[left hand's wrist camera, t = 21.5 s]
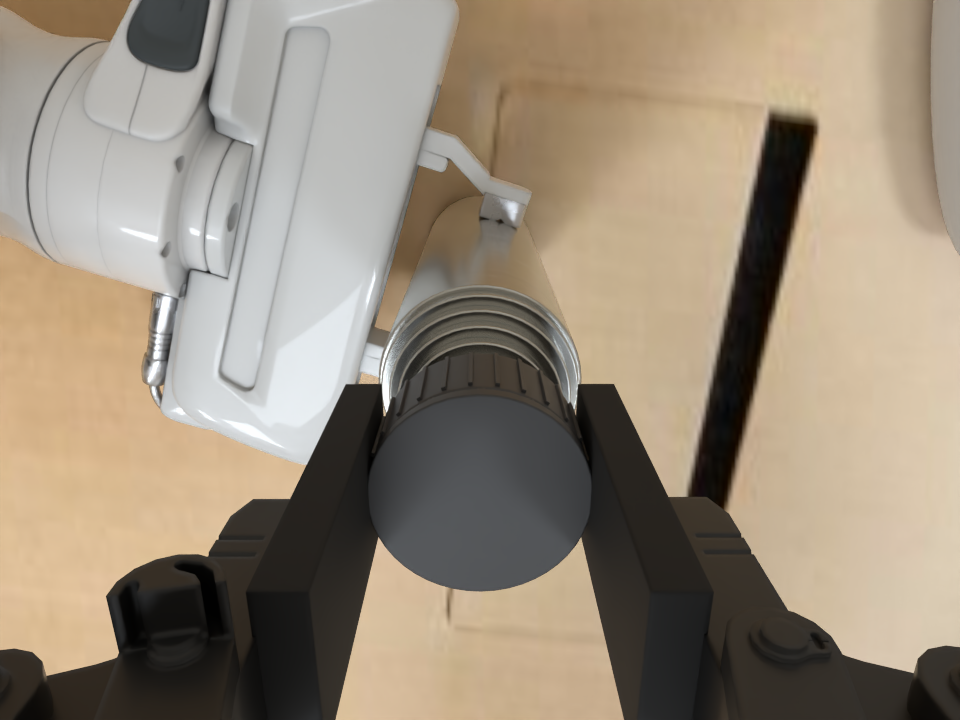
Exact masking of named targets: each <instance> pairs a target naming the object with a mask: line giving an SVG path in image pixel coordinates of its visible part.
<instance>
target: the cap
mask: <svg viewBox="0 0 960 720" xmlns="http://www.w3.org/2000/svg"><path fill="white" fill-rule="evenodd" d="M370 456H372V457H373V460H372V464H371V467H370V470H369V474H368V495H369V510H370V518H371V521H372V524H373V526H374V528H375V530H376V532H377V535H378V537H379V538H380V540H381V541H382V543H383V544H384V546H385V547H386V548H387V550H388V551H389V552H390V553H391V554H392V555H393V556H394V557H395V558H396V559H397V560H398V561H399V562H400V563H401V564H402V565H403V566H405V567H406V568H408V569H409V570H411V571H412V572H413V573H415V574H417V575H419V576H421V577H422V578H424V579H426V580H428V581H431V582H433V583H436V584H439V585H442V586H445V587H449V588H453V589H459V590H465V591H495V590H501V589H507V588H511V587H514V586H518V585H521V584H524V583H526V582H529V581H531V580H534V579H536V578H538V577H539V576H541V575H543V574H545V573H547V572H548V571H549V570H551V569H552V568H554V567H555V566H556V565H558V564H559V563H560V562H561V561H562V560H563V559H564V558H565V557H566V556H567V555H568V554H569V553H570V552H571V551H572V549H573V548H574V547H575V546H576V544H577V543H578V541H579V539H580V538H581V536H582V535H583V532H584V530H585V528H586V526H587V524H588V521H589V517H590V503H591V488H592V475H591V470H590V467H589V458H588V455H587V452H586V449H585V445H584V442H583V437H582V434H581V431H580V428H579V425H578V421H577V418H576V415H575V412H574V408H573V405H572V403H571V402H570V403H568V402H567V400H566V398H565V397H564V395H563V394H562V392H561V389H560V386H559V385H558V384H557V385H555V384H554V383H553V382H552V381H551V380H550V379H548V378H547V377H546V376H545V375H543V371H542V370H540V369H539V370H536V369H534V368H533V367H531V366H529V365H527V364H525V363H523V362H522V360H521V359H519V358H518V359H517V360H515V359H512V358H509V357H505V356H500V355H498V353H494V354H483V353H482V354H480V353H479V354H473V352H469V354H465V355H460V356H455V357H451V358H450V357H449V356H447V357H445V360H442V361H439V362H437V363H435V364H433V365H431V366H429V367H427V365H426V366H424V367H423V370H422V371H421V372H419V373H418V374H416V375H415V376H414V377H413V378H412V379H410V380H408V379H407V380H406V381H405V382H404V386H403V388H402V389H401V390H400V391H399V392H398V394H397V395H396V397H393V396H392V398H391V400H390V403H389V406H388V410H387V413H386V416H383V417H382V420H381V423H380V427H379V430H378V433H377V436H376V439H375V442H374V446H373V449H372V452H371V455H370Z"/></svg>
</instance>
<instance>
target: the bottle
mask: <svg viewBox="0 0 960 720" xmlns="http://www.w3.org/2000/svg"><path fill="white" fill-rule="evenodd" d="M482 197H483V196H471V197H467V198H463V199H461V200H458V201H456V202H454V203H453V204H451V205H450V206H448V207H447V208H446V209H445V210H444V211H443V212H442V213H441V214H440V215H439V216H438V218H437V219H436V221H435V222H434V224H433V226H432V229H431V231H430V234H429V236H428V239H427V241H426V244H425V246H424V249H423V251H422V254H421V257H420V259H419V262H418V264H417V267H416V269H415V272H414V274H413V277H412V279H411V282H410V284H409V287H408V289H407V292H406V294H405V297H404V299H403V302H402V304H401V307H400V309H399V312H398V314H397V317H396V319H395V322H394V324H393V327H392V329H391V332H390V334H389V337H388V339H387V342H386V344H385V347H384V350H383V352H382V356H381V361H380V366H379V384H382V399H383V407H384V410H385V413H387V410H388V406H389V403H390V400H391V398H392V396H393V397H396V395H397V394H398V392H399V391H400V390H401V389H402V388H403V386H404V382H405V381H406V380H407V379H408V380H410V379H412V378H413V377H414V376H415V375H416V374H418V373H419V372H421V371H422V370H423V367H424V366H426V365H427V367H429V366H431V365H433V364H435V363H437V362H439V361H442V360H445V357H447V356H449V357H450V358H451V357H455V356H460V355H465V354H469V352H473V354H479V353H480V354H482V353H483V354H494V353H498V355H500V356H505V357H509V358H512V359H515V360H517V359H518V358H519V359H521V360H522V362H523V363H525V364H527V365H529V366H531V367H533V368H534V369H536V370H539V369H540V370H542V371H543V375H545V376H546V377H547V378H548V379H550V380H551V381H552V382H553V383H554V384H555V385H557V384H558V385H559V386H560V389H561V392H562V394H563V395H564V397H565V398H566V400H567V402H568V403H570V402H571V403H572V405H573V408H574V412H575V409H576V407H577V391H578V384H581V366H580V361H579V357H578V353H577V350H576V347H575V345H574V342H573V339H572V337H571V334H570V332H569V329H568V327H567V324H566V322H565V319H564V317H563V314H562V312H561V309H560V307H559V304H558V302H557V299H556V297H555V294H554V292H553V289H552V287H551V284H550V282H549V279H548V277H547V274H546V272H545V269H544V267H543V264H542V262H541V259H540V257H539V254H538V252H537V249H536V247H535V244H534V242H533V239H532V237H531V234H530V232H529V229H528V227H527V225H526V223H525V221H524V219H523V221H522V224H521V227H520V228H516V227H512V226H509V225H507V224H505V223H504V222H503V221H502V220H501V219H499V220H496V221H495V220H490V219H487V218H484V217H481V216H479V207H480V204H481V200H482Z"/></svg>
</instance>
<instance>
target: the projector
mask: <svg viewBox="0 0 960 720" xmlns="http://www.w3.org/2000/svg"><path fill="white" fill-rule="evenodd" d="M931 119H932V139H933V152H934V165H935V173H936V181H937V189H938V195H939V200H940V205H941V211H942V215H943V218H944V222H945V225H946V228H947V231H948V234H949V236H950V239H951V241H952V243H953V245H954V247H955V249H956V251H957V252H958V254H959V255H960V0H933V11H932V34H931Z"/></svg>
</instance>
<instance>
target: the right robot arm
mask: <svg viewBox="0 0 960 720" xmlns="http://www.w3.org/2000/svg"><path fill="white" fill-rule="evenodd" d="M459 18H460V13H459V8H458V5H457V2H456V0H132V1H131V3H130V5H129V7H128V9H127V11H126V13H125V15H124V17H123V19H122V21H121V23H120V25H119V27H118V29H117V31H116V32H115V34H114V36H113V38H112V40H111V41H107V40H103V39H98V38H89V37H65V36H60V35H55V34H52V33H49V32H46V31H44V30H42V29H40V28H38V27H36V26H34V25H33V24H31V23H30V22H28V21H27V20H25V19H24V18H22V17H20V16H19V15H17V14H16V13H14V12H12V11H10V10H9V9H7V8H5V7H2V6H0V236H3V237H6V238H10V239H12V240H15V241H17V242H19V243H21V244H22V245H24V246H26V247H27V248H29V249H30V250H32V251H34V252H35V253H37V254H39V255H40V256H42V257H44V258H46V259H49V260H51V261H53V262H56V263H59V264H63V265H66V266H70V267H73V268H77V269H80V270H83V271H86V272H90V273H93V274H97V275H100V276H103V277H107V278H110V279H114V280H117V281H120V282H124V283H127V284H130V285H134V286H137V287H140V288H144V289H147V290H151V291H153V296H152V304H151V310H150V317H149V339H148V346H147V352H146V353H145V354H144V357H143V362H142V380H143V382H144V383H145V384H147V385H149V388H150V392H151V395H152V398H153V400H154V401H155V403H156V404H157V406H158V407H159V408H160V409H161V412H162V413H163V414H164V415H165V416H166V417H168V418H170V419H172V420H174V421H177V422H181V423H184V424H188V425H191V426H195V427H199V428H202V429H209V430H213V431H215V432H218V433H220V434H222V435H224V436H226V437H229V438H231V439H233V440H235V441H238V442H240V443H242V444H245V445H247V446H250V447H252V448H255V449H257V450H260V451H263V452H265V453H268V454H271V455H273V456H276V457H279V458H282V459H285V460H288V461H291V462H294V463H298V464H303V465H307V463H308V461H309V459H310V457H311V455H312V453H313V451H314V449H315V447H316V445H317V443H318V441H319V439H320V436H321V434H322V432H323V430H324V428H325V426H326V424H327V422H328V420H329V418H330V416H331V414H332V412H333V409H334V407H335V405H336V403H337V401H338V399H339V397H340V395H341V393H342V391H343V389H344V387H345V385H346V384H359V381H360V377H361V373H366V374H369V375H373V376H376V377H379V366H380V361H381V356H382V352H383V350H384V347H385V344H386V342H387V339H388V337H389V334H390V332H388V331H385V330H382V329H379V328H375V323H376V319H377V316H378V312H379V309H380V305H381V301H382V298H383V294H384V290H385V287H386V283H387V280H388V276H389V272H390V269H391V265H392V262H393V258H394V254H395V251H396V247H397V244H398V240H399V236H400V233H401V229H402V225H403V222H404V218H405V215H406V211H407V207H408V204H409V200H410V197H411V193H412V189H413V186H414V182H415V179H416V175H417V171H418V168H419V165H420V166H423V167H426V168H429V169H432V170H435V171H439V172H443V171H445V170H446V168H447V166H448V163H449V160H450V159H451V160H452V161H453V163H454V164H455V165H456V166H457V167H458V168H459V169H460V170H461V171H462V172H463V174H464V175H465V176H466V177H467V178H468V179H469V180H470V181H471V182H472V183H473V184H474V186H475V187H476V188H477V189H478V190H479V191H480V192H481V193H482V194H483V197H482V200H481V204H480V207H479V216H481V217H484V218H487V219H490V220H495V221H496V220H499V219H501V220H502V221H503V222H504V223H505V224H507V225H509V226H512V227H516V228H520V227H521V224H522V221H523V218H524V215H525V213H526V210H527V207H528V204H529V201H530V198H531V195H532V192H531V190H529V189H527V188H524V187H522V186H519V185H516V184H513V183H510V182H507V181H504V180H501V179H498V178H495V177H492V176H490V172H489V171H488V170H487V169H486V168H485V167H484V166H483V164H482V163H481V162H480V161H479V160H478V159H477V158H476V156H475V155H474V154H473V153H472V152H471V151H470V150H469V149H468V147H467V146H466V145H465V144H464V143H463V142H462V141H461V139H460V138H459V137H458V136H457V135H454V134H451V133H448V132H445V131H442V130H439V129H436V128H433V127H430V124H431V121H432V117H433V114H434V110H435V106H436V103H437V99H438V96H439V92H440V88H441V85H442V81H443V78H444V74H445V70H446V67H447V63H448V59H449V56H450V52H451V49H452V45H453V41H454V38H455V34H456V30H457V27H458V23H459ZM162 385H164V389H163V395H162V394H161V391H160V387H159V386H162Z"/></svg>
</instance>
